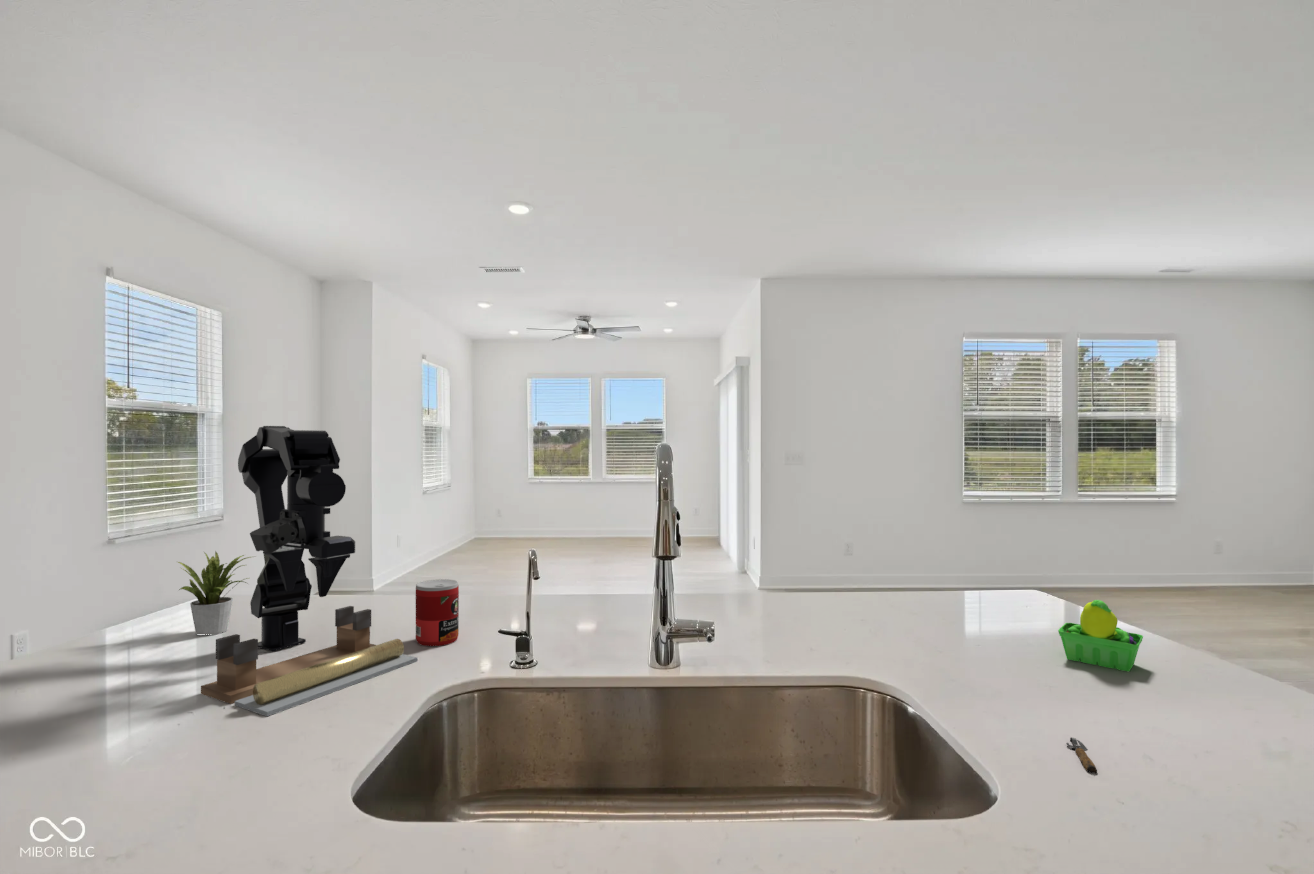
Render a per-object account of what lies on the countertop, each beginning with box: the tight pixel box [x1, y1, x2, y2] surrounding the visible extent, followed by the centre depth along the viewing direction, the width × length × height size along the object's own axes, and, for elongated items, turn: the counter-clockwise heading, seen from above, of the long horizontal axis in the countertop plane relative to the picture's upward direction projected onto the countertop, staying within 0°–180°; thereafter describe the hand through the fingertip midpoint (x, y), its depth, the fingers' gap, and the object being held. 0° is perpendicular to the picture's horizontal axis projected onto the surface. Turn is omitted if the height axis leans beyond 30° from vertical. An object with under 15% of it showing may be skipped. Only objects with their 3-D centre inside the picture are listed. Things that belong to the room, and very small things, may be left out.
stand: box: [200, 605, 376, 705], centre depth 108 cm, size 26×8×8 cm, turn 151°
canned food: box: [415, 578, 460, 647], centre depth 125 cm, size 8×8×11 cm
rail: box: [253, 638, 405, 705], centre depth 103 cm, size 24×3×3 cm, turn 151°
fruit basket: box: [1057, 599, 1144, 673], centre depth 112 cm, size 11×9×11 cm
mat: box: [234, 653, 418, 717], centre depth 104 cm, size 8×26×1 cm, turn 151°
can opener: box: [1065, 736, 1098, 774], centre depth 79 cm, size 9×2×1 cm, turn 154°
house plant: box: [177, 550, 257, 636], centre depth 130 cm, size 14×14×16 cm
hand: (305, 593), depth 112 cm, fingers open, 9 cm apart
